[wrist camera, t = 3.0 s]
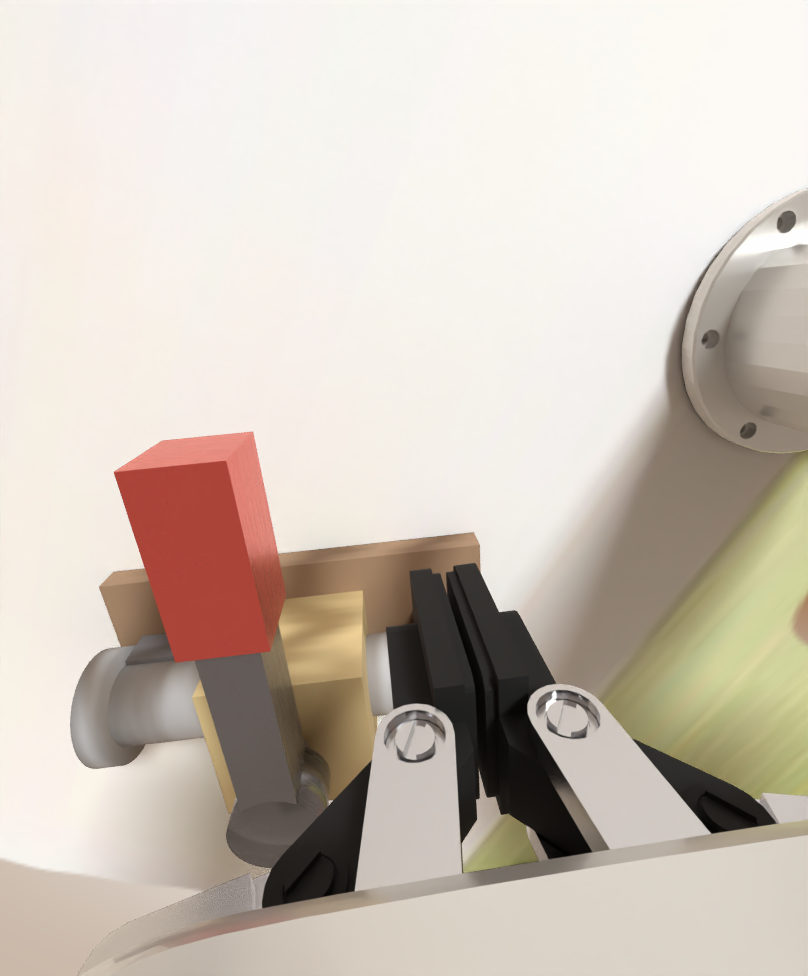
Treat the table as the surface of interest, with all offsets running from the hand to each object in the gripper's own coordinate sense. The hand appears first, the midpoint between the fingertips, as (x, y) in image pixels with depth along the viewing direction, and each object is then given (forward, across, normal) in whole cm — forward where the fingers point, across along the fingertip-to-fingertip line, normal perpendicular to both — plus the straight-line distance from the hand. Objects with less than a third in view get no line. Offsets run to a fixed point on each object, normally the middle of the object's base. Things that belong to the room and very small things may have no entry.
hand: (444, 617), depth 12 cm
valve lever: (+5, +6, +4) cm, 9 cm away
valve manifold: (+14, +6, +10) cm, 18 cm away
